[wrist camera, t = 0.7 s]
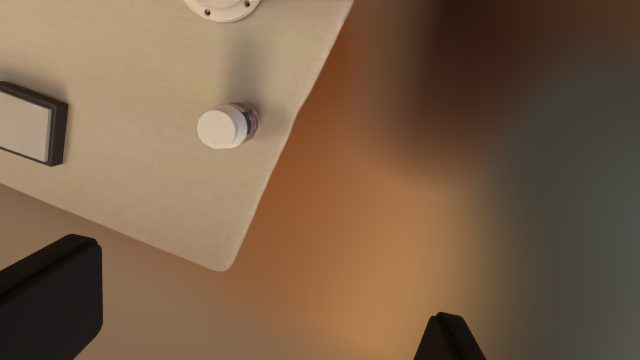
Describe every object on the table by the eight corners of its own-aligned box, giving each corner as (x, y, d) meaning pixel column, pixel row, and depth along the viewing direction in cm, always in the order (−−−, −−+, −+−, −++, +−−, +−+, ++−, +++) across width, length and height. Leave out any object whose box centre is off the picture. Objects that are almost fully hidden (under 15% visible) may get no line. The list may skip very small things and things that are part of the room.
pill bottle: (257, 144, 46) (236, 158, 36) (220, 135, 46) (190, 147, 36) (263, 107, 44) (243, 112, 35) (225, 98, 44) (195, 100, 34)
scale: (3, 81, 45) (-16, 80, 43) (68, 104, 46) (53, 105, 43) (1, 142, 48) (-17, 145, 46) (62, 163, 48) (47, 167, 46)
